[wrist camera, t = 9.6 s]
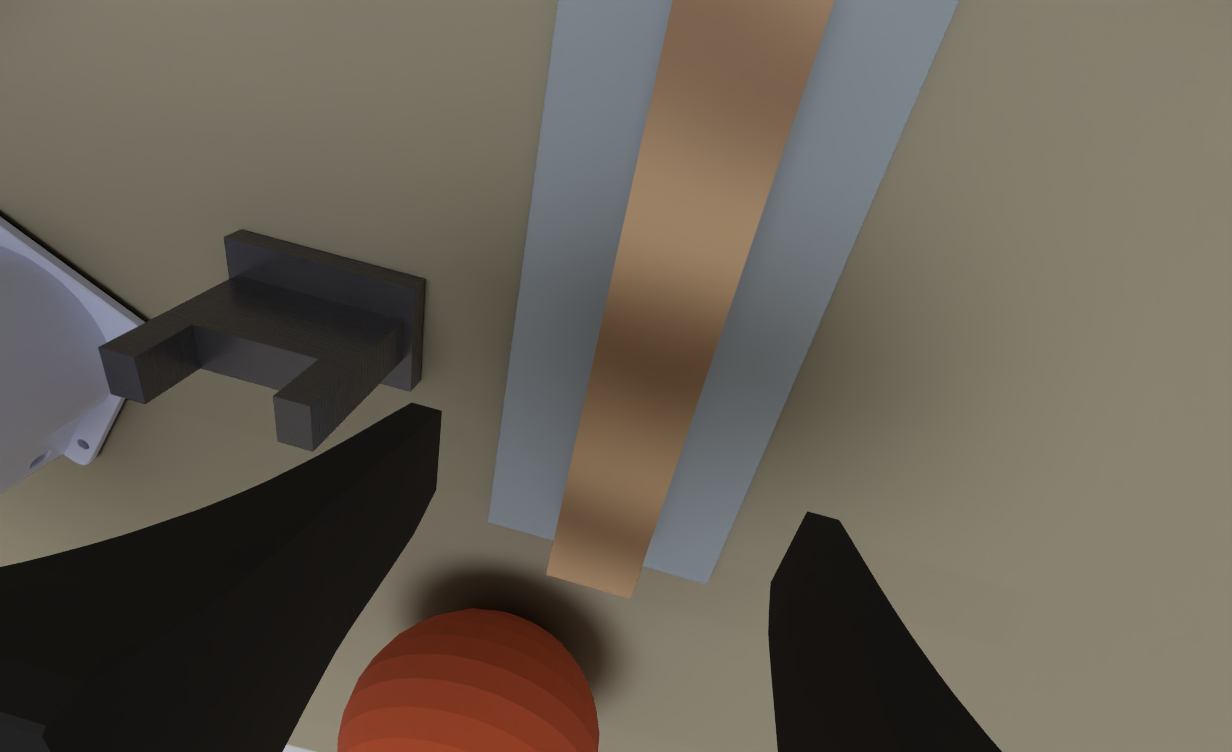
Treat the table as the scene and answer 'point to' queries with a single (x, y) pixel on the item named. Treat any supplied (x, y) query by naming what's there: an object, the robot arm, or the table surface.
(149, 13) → the table surface
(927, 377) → the table surface
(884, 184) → the table surface
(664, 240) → the wavy strip
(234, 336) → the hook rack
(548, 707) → the tomato
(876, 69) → the mat
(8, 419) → the robot arm
